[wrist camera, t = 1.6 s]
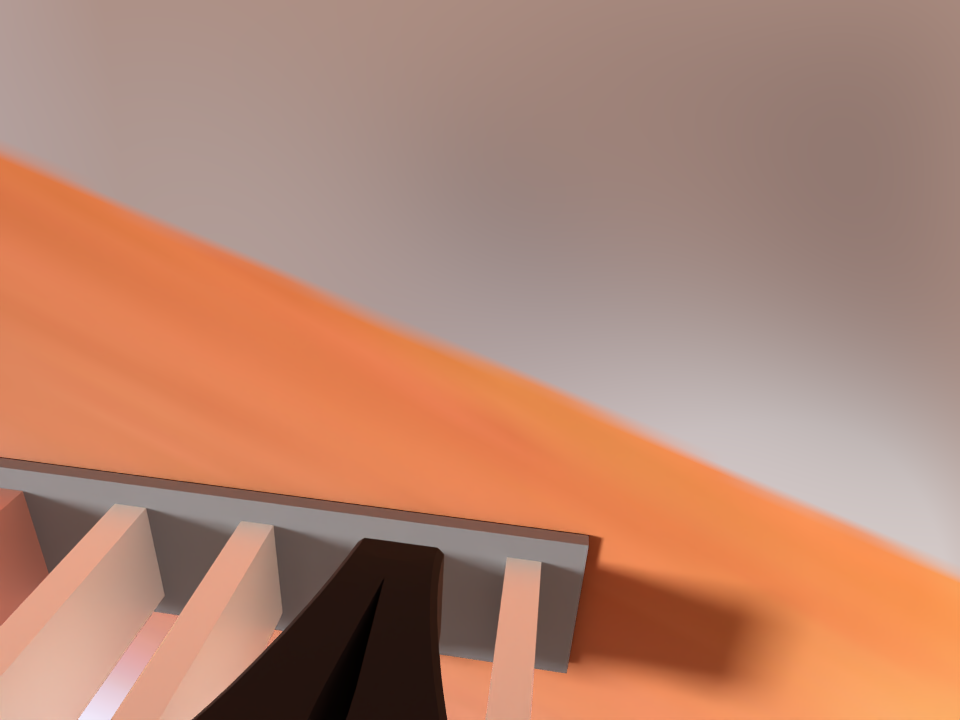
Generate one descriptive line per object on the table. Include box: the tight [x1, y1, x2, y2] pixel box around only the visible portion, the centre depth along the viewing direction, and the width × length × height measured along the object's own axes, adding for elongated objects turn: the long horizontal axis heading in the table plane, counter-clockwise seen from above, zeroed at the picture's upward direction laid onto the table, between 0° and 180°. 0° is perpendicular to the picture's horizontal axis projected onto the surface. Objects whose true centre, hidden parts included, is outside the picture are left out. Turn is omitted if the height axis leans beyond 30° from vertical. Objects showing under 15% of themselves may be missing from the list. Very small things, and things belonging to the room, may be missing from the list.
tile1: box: [486, 557, 541, 720], centre depth 21 cm, size 1×4×8 cm, turn 177°
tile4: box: [0, 504, 165, 720], centre depth 22 cm, size 1×4×8 cm, turn 177°
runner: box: [0, 458, 589, 673], centre depth 26 cm, size 23×6×1 cm, turn 87°
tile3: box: [111, 521, 283, 720], centre depth 22 cm, size 1×4×8 cm, turn 176°
